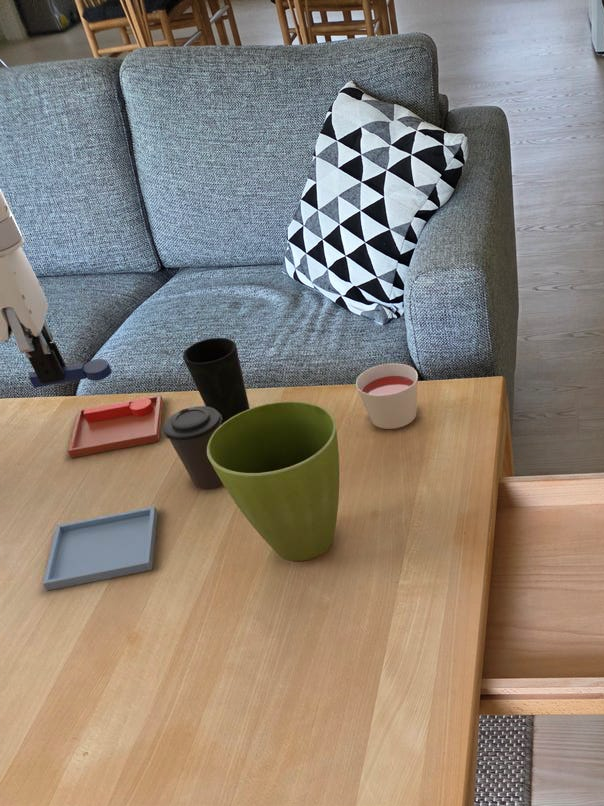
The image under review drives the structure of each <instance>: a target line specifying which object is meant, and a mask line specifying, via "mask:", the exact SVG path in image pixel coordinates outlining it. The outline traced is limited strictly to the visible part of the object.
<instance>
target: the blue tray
mask: <svg viewBox="0 0 604 806" xmlns="http://www.w3.org/2000/svg"><path fill="white" fill-rule="evenodd" d="M157 510H158V509H157V508H156V506H149V507H143V508H139V509H134V510H128V511H124V512H118V513H113V514H108V515H102V516H98V517H93V518H87V519H82V520H76V521H72V522H67V523H62V524H61V523H60V524H57V525H55V529H54V530H55V531H54V534H53V539H52V543H51V547H50V551H49V555H48V561H47V564H46V568H45V571H44V577H43V581H42V585H43V587H44V589H45V590H46V591H53V590H57V589H62V588H67V587H71V586H77V585H78V586H79V585H82V584H88V583H92V582H97V581H102V580H108V579H113V578H117V577H122V576H127V575H133V574H137V573H143V572H148V571H152V570H153V565H154V564H153V563H154V556H155V555H154V554H155V545H156V535H157V527H158V518H159V517H158V515H159V512H158V511H157Z"/></svg>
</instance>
